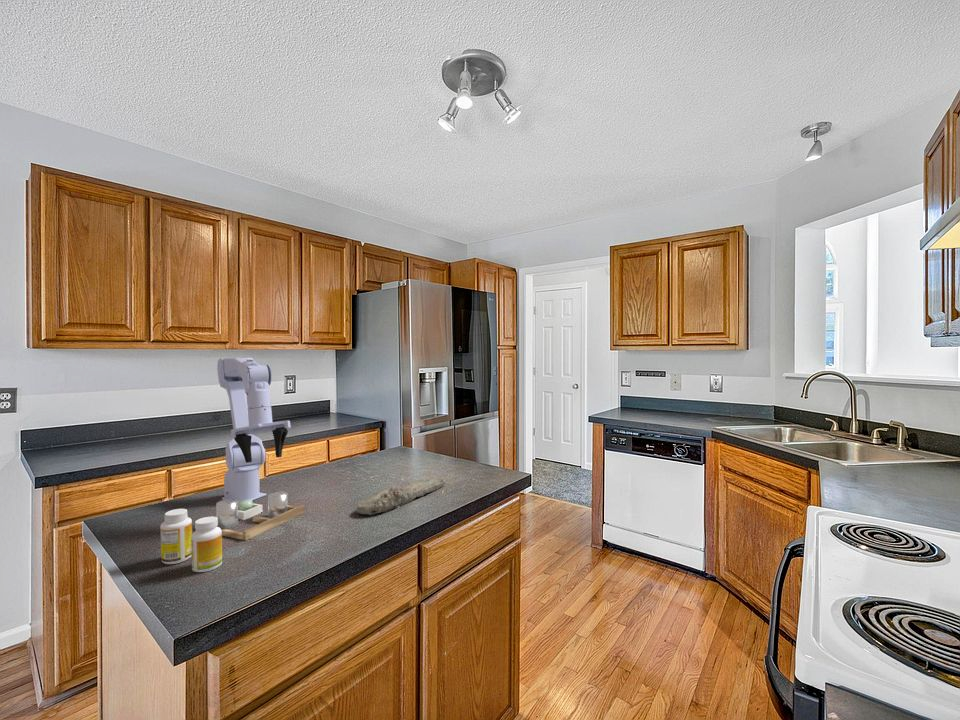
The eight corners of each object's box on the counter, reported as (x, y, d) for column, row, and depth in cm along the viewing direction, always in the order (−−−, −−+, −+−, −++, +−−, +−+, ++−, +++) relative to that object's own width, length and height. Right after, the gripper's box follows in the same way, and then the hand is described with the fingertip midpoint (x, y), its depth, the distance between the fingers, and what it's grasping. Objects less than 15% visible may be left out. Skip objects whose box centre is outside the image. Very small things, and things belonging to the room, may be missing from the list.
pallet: (221, 535, 106) (221, 527, 106) (282, 508, 124) (282, 501, 124) (246, 540, 103) (245, 532, 103) (304, 512, 121) (304, 505, 121)
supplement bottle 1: (187, 550, 98) (186, 505, 98) (196, 558, 94) (195, 511, 94) (157, 560, 94) (156, 512, 93) (165, 568, 90) (164, 518, 90)
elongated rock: (453, 490, 144) (429, 487, 149) (453, 474, 144) (429, 471, 150) (373, 519, 115) (347, 514, 120) (373, 499, 115) (347, 494, 120)
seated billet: (263, 518, 116) (263, 496, 116) (278, 512, 121) (277, 490, 121) (277, 521, 115) (277, 498, 115) (291, 514, 119) (291, 492, 119)
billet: (212, 527, 111) (211, 504, 111) (229, 520, 115) (228, 497, 115) (226, 530, 109) (225, 506, 109) (242, 523, 113) (242, 500, 113)
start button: (234, 510, 118) (234, 503, 118) (245, 506, 122) (245, 498, 122) (244, 512, 117) (244, 504, 117) (255, 507, 120) (255, 500, 120)
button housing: (227, 517, 118) (227, 509, 118) (246, 509, 123) (246, 502, 123) (243, 520, 115) (243, 512, 115) (262, 512, 121) (262, 504, 121)
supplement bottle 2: (228, 562, 92) (227, 516, 92) (205, 575, 87) (204, 526, 87) (209, 558, 94) (208, 513, 94) (185, 570, 89) (184, 523, 89)
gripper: (224, 412, 114) (228, 465, 112) (282, 403, 116) (287, 455, 113) (236, 414, 121) (240, 464, 119) (291, 405, 123) (295, 454, 120)
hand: (263, 459), depth 116 cm, fingers open, 7 cm apart
